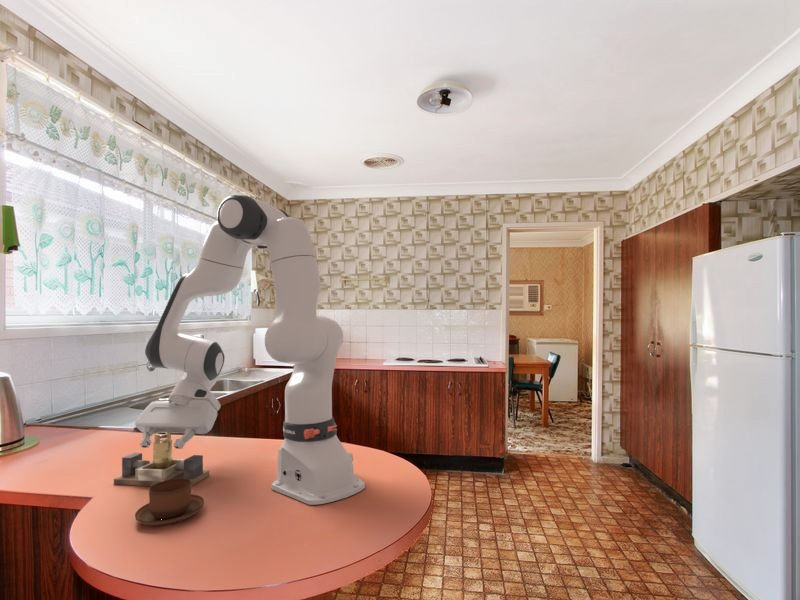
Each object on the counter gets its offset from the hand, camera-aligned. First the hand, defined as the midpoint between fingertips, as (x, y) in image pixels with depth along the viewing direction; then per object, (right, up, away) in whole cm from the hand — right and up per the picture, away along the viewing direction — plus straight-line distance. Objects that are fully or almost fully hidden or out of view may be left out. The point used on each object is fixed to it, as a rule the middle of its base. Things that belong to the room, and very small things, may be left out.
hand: (160, 447), depth 103 cm
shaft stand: (0, -8, 0) cm, 8 cm away
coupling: (0, -7, 0) cm, 7 cm away
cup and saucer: (+13, -7, -19) cm, 24 cm away
